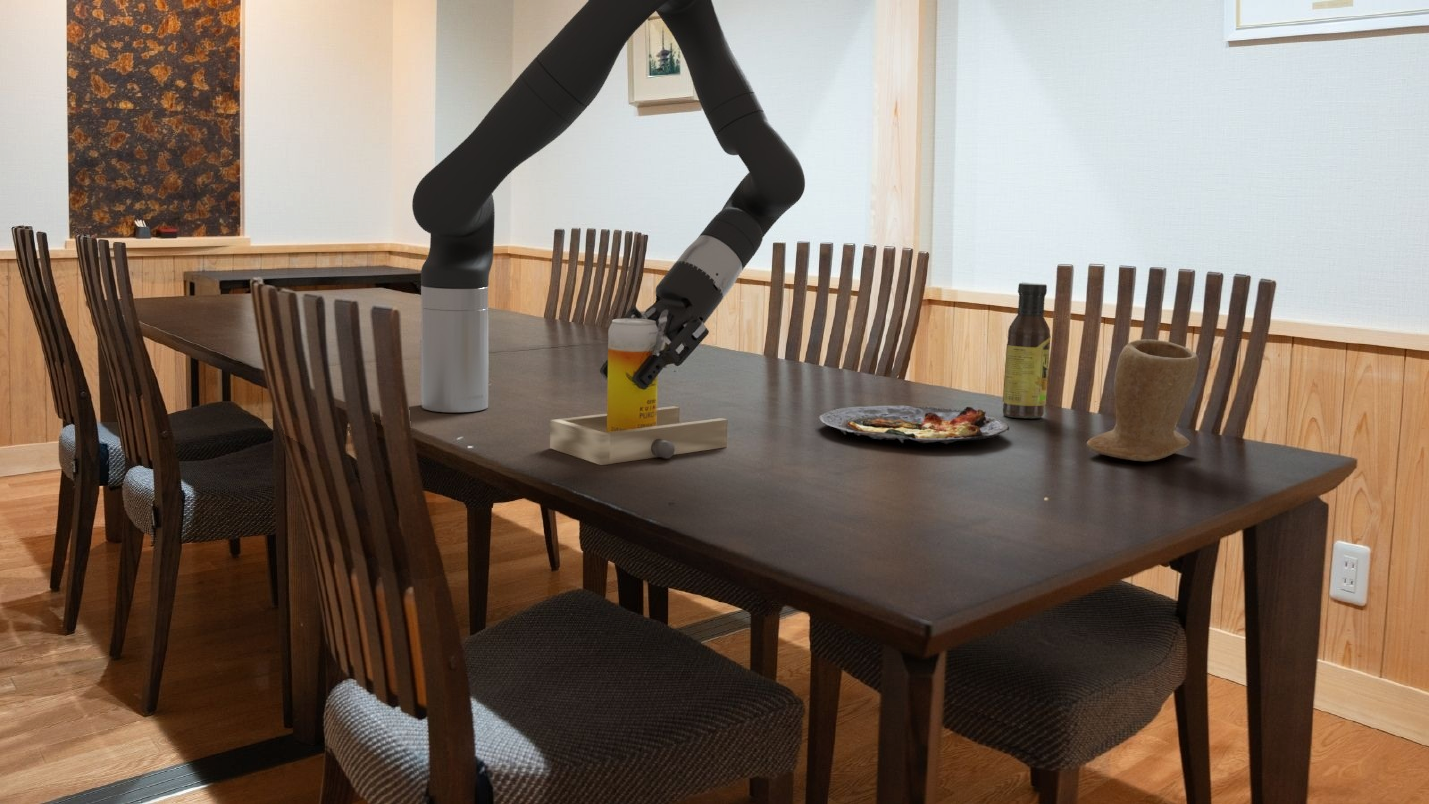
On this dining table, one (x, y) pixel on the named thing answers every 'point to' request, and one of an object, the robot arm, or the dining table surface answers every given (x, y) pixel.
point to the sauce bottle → (1027, 356)
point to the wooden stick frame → (635, 437)
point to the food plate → (915, 423)
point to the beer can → (630, 375)
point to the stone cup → (1149, 401)
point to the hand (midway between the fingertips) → (621, 380)
